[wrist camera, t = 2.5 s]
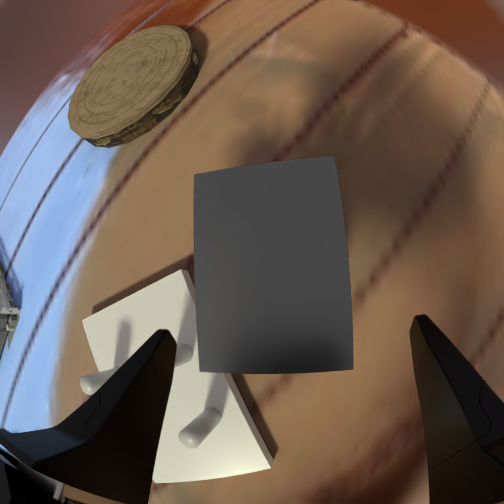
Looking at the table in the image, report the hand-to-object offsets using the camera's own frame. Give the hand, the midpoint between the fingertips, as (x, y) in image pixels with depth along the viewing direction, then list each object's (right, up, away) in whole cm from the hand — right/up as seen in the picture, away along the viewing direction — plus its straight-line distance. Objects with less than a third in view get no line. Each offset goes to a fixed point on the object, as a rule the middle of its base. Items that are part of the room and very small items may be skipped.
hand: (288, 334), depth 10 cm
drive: (+2, +1, +9) cm, 10 cm away
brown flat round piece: (-14, +21, +17) cm, 30 cm away
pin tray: (-8, -8, +10) cm, 15 cm away
